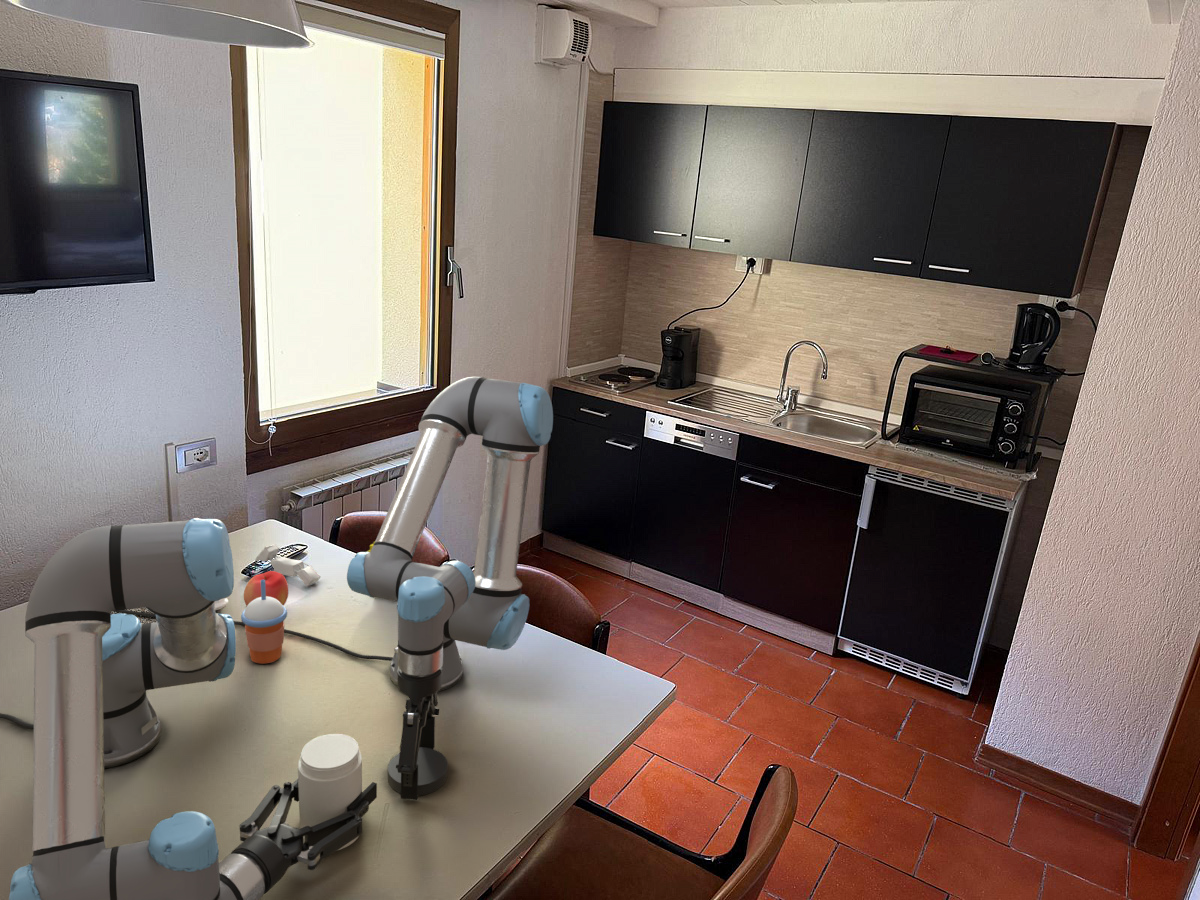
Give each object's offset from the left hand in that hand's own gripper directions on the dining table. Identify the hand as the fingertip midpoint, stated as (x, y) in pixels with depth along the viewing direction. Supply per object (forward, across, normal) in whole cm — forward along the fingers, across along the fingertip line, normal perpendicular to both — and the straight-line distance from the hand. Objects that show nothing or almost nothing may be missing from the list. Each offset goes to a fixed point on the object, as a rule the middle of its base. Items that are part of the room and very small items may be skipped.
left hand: (348, 779), depth 140 cm
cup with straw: (+30, -45, -7) cm, 55 cm away
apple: (+45, -58, -7) cm, 73 cm away
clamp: (+63, -68, -7) cm, 92 cm away
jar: (-4, 0, -7) cm, 8 cm away
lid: (+13, +5, -5) cm, 15 cm away
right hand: (+13, +5, -6) cm, 15 cm away
